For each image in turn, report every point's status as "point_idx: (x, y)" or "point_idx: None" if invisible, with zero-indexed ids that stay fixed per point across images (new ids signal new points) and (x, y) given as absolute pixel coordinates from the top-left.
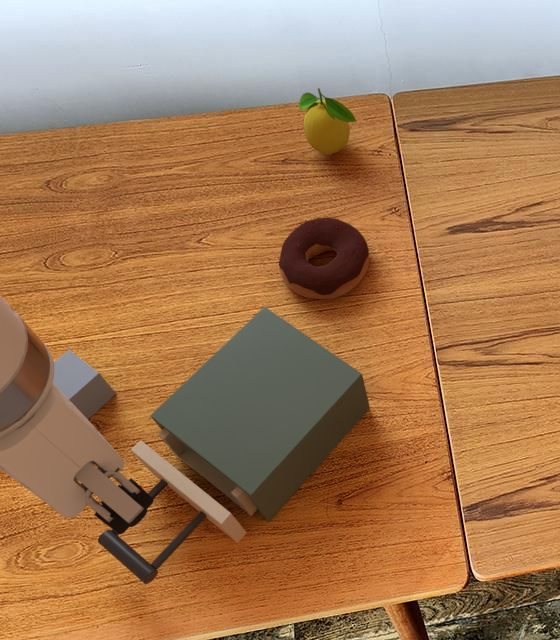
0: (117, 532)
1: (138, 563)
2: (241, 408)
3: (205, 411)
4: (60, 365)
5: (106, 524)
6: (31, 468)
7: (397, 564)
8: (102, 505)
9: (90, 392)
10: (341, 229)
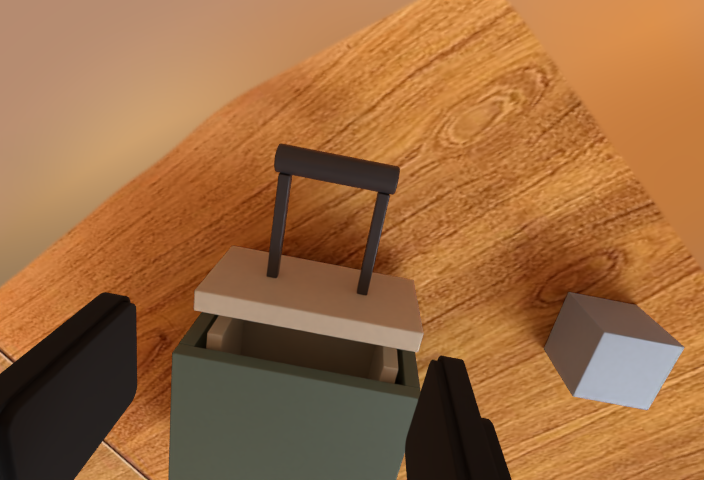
0: (92, 301)
1: (304, 169)
2: (287, 454)
3: (338, 433)
4: (647, 385)
5: (22, 356)
6: None
7: (47, 299)
8: (8, 446)
9: (573, 356)
10: None
